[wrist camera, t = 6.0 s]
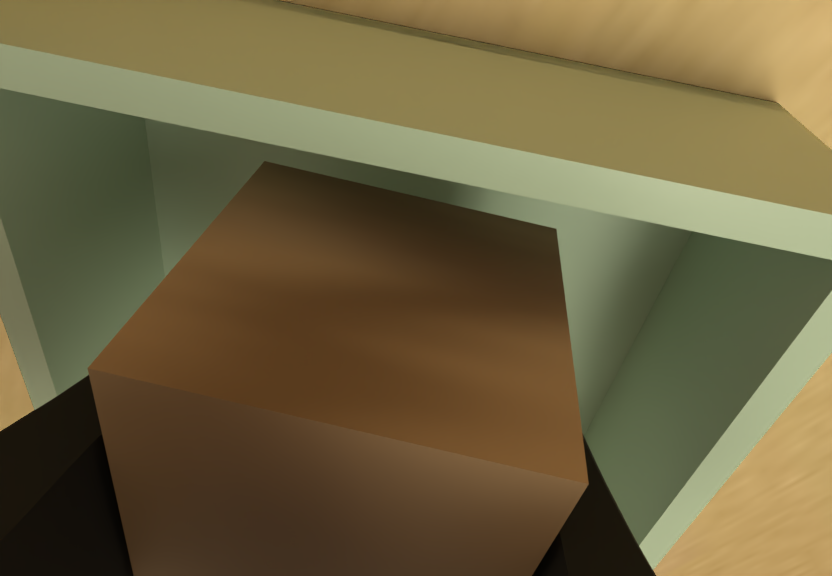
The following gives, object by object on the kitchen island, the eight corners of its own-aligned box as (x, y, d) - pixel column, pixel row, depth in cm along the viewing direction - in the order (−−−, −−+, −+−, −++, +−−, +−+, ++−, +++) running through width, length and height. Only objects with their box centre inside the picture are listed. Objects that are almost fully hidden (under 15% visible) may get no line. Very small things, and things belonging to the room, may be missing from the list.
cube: (556, 228, 10) (588, 483, 6) (481, 421, 13) (467, 679, 9) (264, 160, 10) (87, 368, 6) (258, 370, 13) (140, 603, 9)
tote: (530, 554, 21) (535, 712, 17) (184, 481, 22) (110, 621, 18) (777, 103, 11) (929, 234, 7) (112, -34, 11) (-106, 21, 7)
